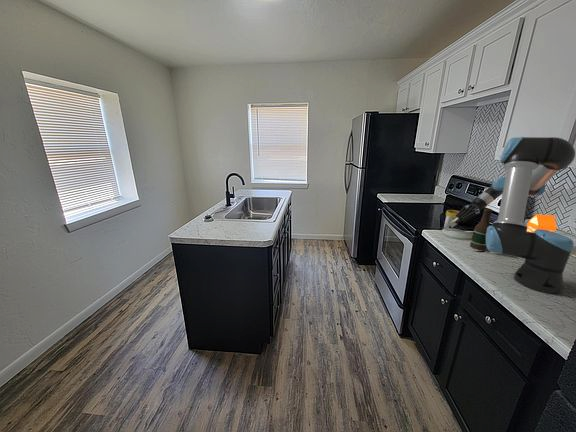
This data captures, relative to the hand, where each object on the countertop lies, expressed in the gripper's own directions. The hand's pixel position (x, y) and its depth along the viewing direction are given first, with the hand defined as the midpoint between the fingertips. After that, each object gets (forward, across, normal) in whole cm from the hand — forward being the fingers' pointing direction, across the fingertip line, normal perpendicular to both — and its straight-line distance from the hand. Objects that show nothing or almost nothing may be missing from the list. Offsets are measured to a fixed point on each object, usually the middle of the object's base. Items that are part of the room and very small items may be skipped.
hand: (450, 225), depth 160 cm
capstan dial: (+2, -6, -4) cm, 7 cm away
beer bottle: (+3, -24, -5) cm, 25 cm away
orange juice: (-22, -20, -31) cm, 43 cm away
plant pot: (-5, +19, -14) cm, 24 cm away
